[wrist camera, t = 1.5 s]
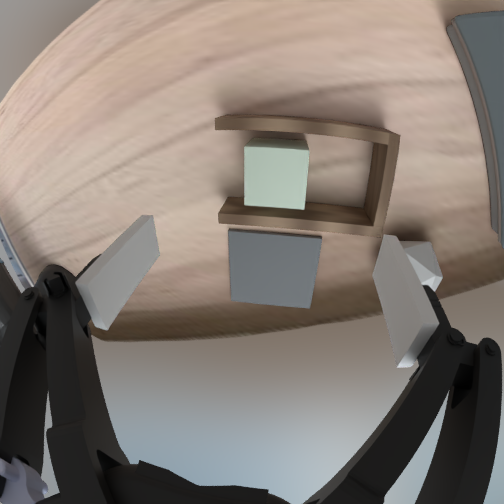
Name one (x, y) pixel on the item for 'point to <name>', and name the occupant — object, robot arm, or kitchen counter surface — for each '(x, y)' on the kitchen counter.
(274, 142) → the block
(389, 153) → the brown u-shaped bracket
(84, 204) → the kitchen counter surface
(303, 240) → the mat
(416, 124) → the kitchen counter surface
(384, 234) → the robot arm
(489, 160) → the toaster
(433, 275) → the die
